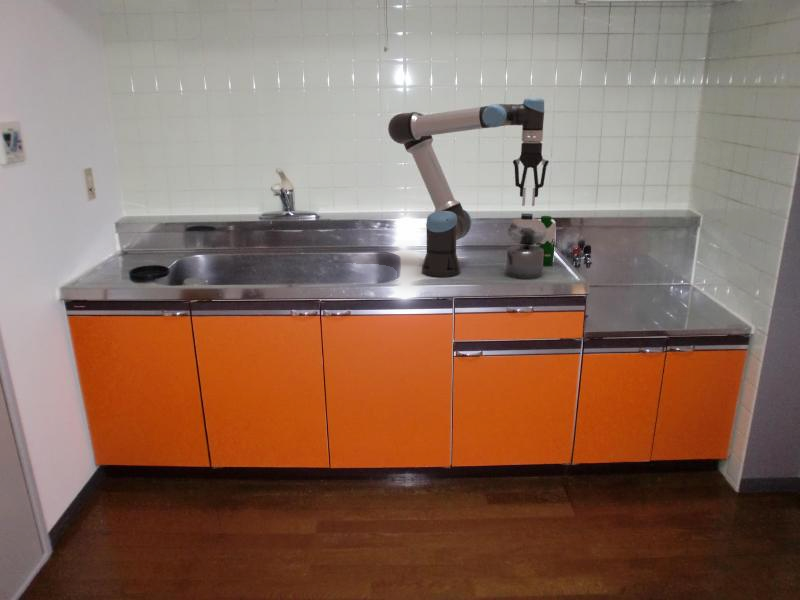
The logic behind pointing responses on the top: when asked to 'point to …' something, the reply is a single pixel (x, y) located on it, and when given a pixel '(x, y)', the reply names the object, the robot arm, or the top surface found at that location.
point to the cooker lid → (527, 230)
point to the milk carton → (548, 240)
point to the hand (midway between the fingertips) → (528, 205)
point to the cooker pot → (524, 262)
